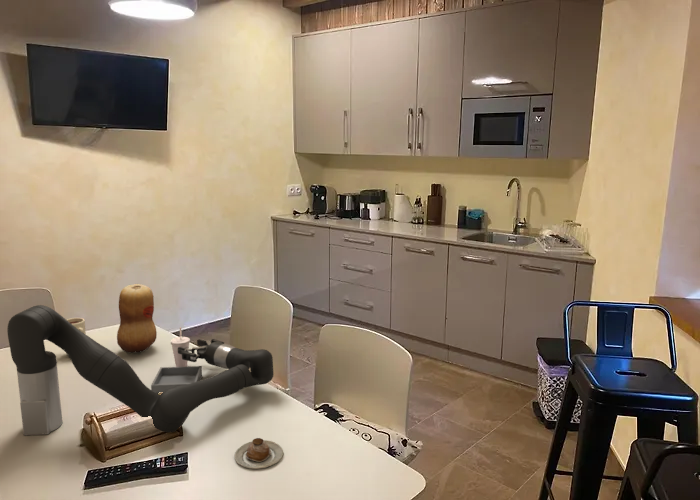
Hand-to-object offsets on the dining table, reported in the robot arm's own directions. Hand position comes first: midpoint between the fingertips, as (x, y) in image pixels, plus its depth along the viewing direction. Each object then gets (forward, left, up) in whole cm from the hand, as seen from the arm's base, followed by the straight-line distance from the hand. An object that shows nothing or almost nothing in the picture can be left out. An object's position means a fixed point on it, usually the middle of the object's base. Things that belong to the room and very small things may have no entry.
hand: (188, 345), depth 183 cm
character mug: (+15, +42, -8) cm, 45 cm away
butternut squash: (+17, +21, -8) cm, 28 cm away
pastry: (-55, -26, -9) cm, 61 cm away
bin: (-13, +1, -8) cm, 16 cm away
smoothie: (+2, +3, -8) cm, 9 cm away
